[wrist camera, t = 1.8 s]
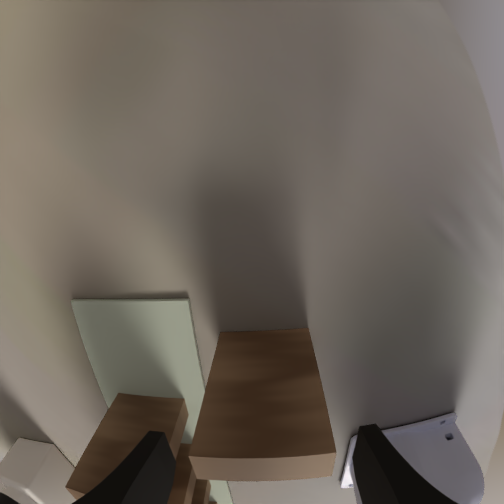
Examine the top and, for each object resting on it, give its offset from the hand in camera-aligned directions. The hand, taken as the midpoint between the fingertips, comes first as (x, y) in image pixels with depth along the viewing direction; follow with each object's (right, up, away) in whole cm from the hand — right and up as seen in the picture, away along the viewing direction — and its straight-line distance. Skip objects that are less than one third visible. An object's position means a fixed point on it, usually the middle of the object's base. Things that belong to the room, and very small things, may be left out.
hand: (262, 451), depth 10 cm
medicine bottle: (-23, -17, +14) cm, 32 cm away
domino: (-7, -3, +9) cm, 12 cm away
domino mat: (-7, -8, +11) cm, 15 cm away
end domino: (0, +2, +8) cm, 8 cm away
